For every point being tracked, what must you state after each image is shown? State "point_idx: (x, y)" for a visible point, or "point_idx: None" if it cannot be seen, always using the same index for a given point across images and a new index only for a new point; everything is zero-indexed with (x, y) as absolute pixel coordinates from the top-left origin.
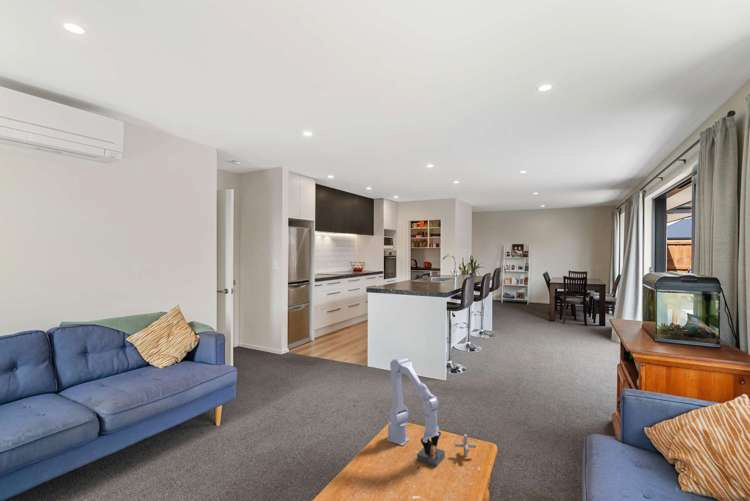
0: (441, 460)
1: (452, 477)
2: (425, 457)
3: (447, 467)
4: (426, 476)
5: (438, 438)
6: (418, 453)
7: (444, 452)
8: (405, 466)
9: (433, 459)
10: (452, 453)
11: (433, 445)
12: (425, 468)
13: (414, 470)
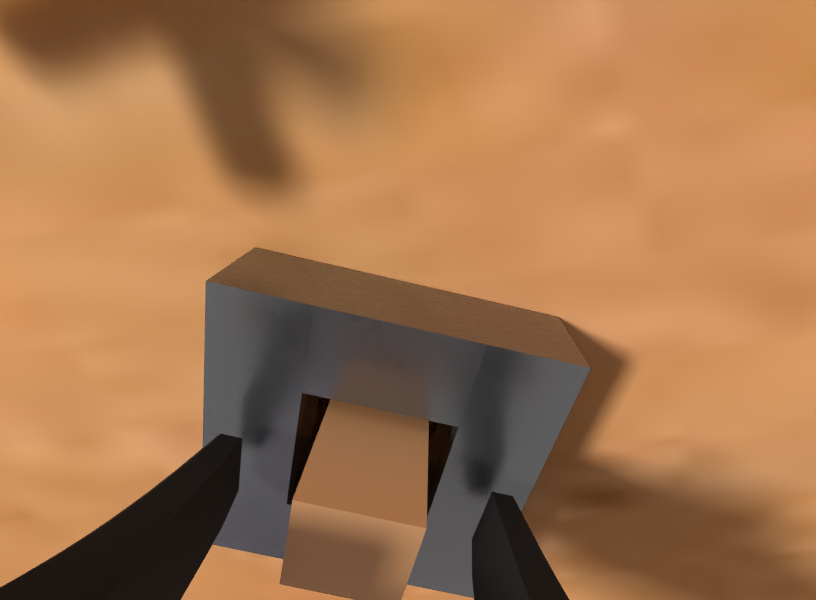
0: (377, 278)
1: (807, 14)
2: (520, 509)
3: (514, 159)
4: (790, 395)
5: (54, 581)
6: (459, 589)
7: (229, 275)
8: (614, 589)
9: (556, 413)
10: (85, 144)
11: (291, 535)
12: (611, 429)
13: (673, 518)
